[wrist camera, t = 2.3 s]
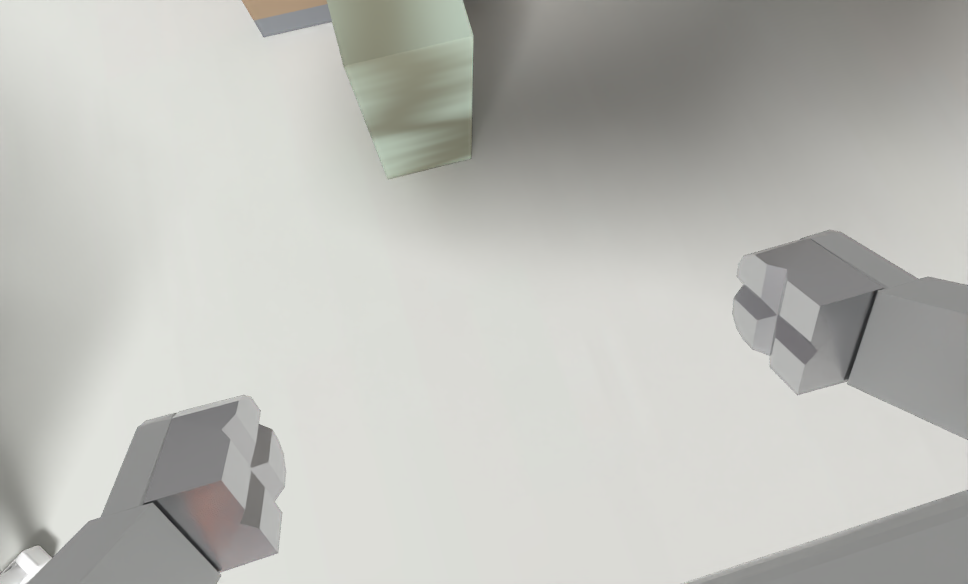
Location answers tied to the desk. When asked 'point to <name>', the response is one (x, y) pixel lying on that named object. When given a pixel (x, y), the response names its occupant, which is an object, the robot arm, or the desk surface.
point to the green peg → (410, 78)
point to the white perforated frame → (25, 566)
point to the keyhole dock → (287, 14)
